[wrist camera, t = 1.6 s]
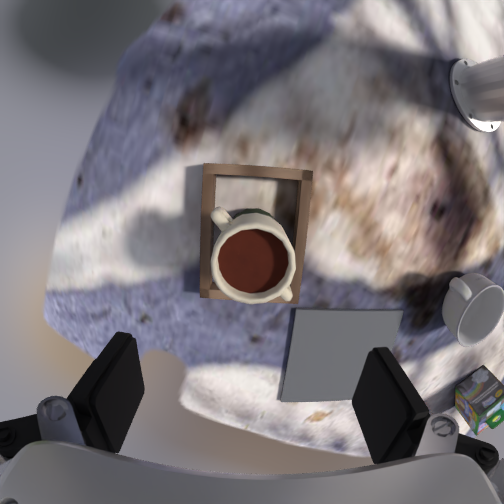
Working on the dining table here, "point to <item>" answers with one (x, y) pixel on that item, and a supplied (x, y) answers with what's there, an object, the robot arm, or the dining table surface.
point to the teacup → (472, 308)
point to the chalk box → (480, 400)
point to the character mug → (252, 257)
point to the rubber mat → (334, 350)
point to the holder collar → (207, 224)
